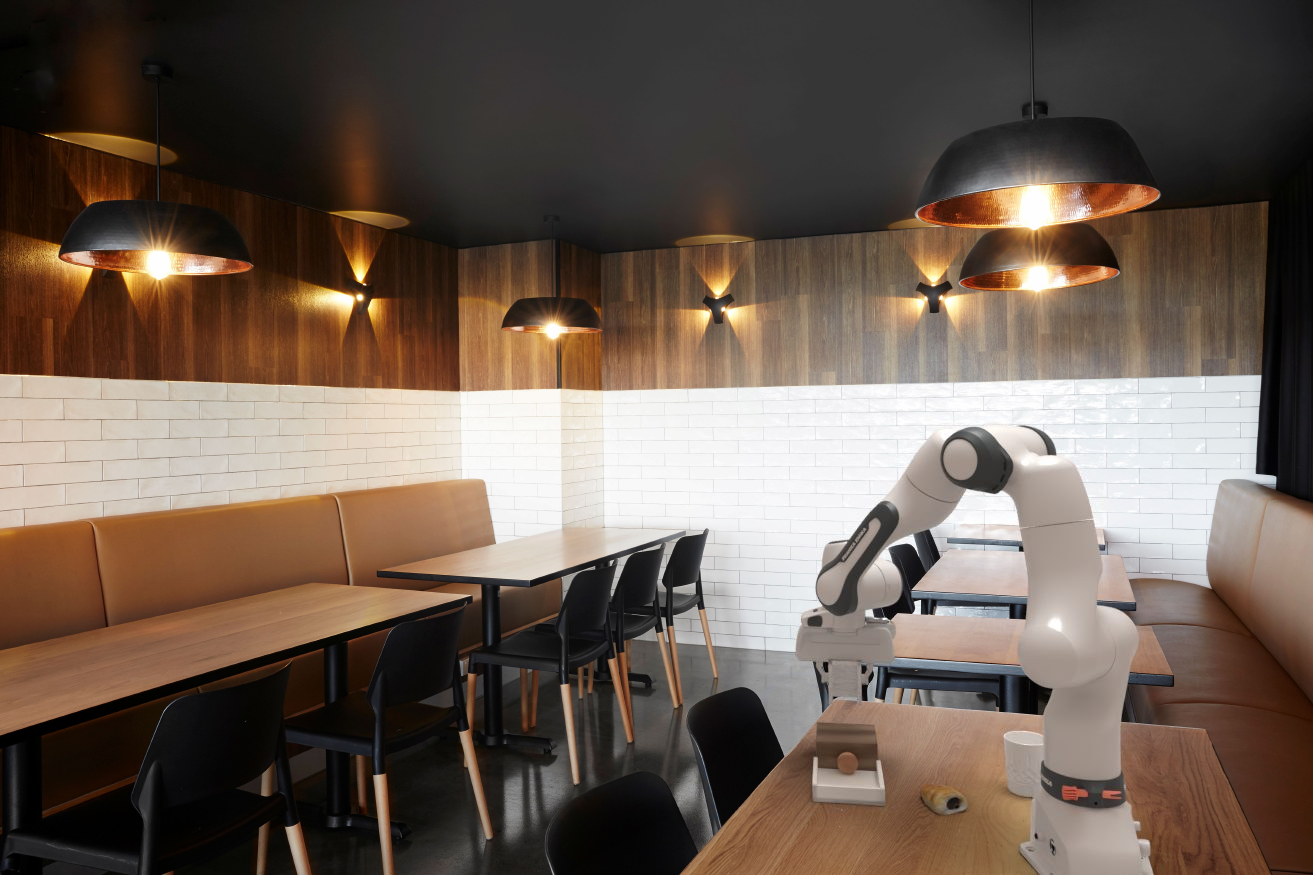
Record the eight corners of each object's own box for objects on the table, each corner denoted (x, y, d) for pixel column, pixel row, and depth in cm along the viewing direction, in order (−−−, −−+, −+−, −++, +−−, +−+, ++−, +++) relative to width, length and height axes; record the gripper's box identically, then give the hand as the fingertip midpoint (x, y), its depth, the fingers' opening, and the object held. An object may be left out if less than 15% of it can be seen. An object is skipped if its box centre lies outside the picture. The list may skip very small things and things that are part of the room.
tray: (885, 805, 161) (885, 789, 161) (812, 801, 163) (812, 785, 163) (880, 775, 175) (880, 760, 175) (813, 771, 178) (813, 756, 178)
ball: (857, 761, 172) (857, 747, 175) (836, 760, 173) (836, 746, 176) (858, 778, 173) (857, 764, 177) (837, 777, 174) (837, 763, 178)
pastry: (910, 797, 165) (910, 776, 165) (942, 792, 167) (941, 772, 167) (939, 817, 156) (939, 795, 156) (972, 812, 158) (972, 791, 158)
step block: (878, 774, 176) (877, 744, 176) (816, 770, 178) (816, 741, 178) (875, 752, 187) (874, 724, 187) (817, 749, 190) (816, 721, 190)
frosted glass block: (861, 705, 181) (861, 661, 181) (828, 703, 182) (828, 660, 182) (860, 696, 187) (860, 653, 187) (828, 694, 188) (828, 652, 188)
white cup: (1056, 789, 167) (1055, 736, 167) (1041, 802, 161) (1040, 747, 161) (1014, 779, 172) (1013, 727, 172) (997, 791, 166) (996, 738, 166)
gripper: (894, 614, 186) (895, 680, 186) (795, 612, 190) (796, 676, 190) (896, 621, 179) (897, 689, 179) (794, 618, 183) (795, 685, 183)
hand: (844, 682), depth 185 cm, fingers closed on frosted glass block, 7 cm apart
